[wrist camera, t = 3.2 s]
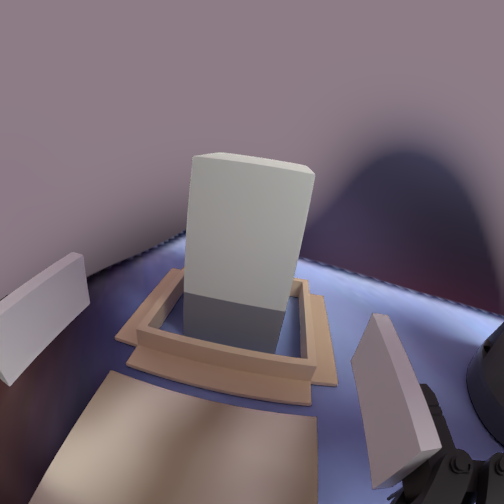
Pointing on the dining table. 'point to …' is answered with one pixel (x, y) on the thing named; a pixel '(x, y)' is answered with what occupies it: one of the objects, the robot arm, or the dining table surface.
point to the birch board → (180, 452)
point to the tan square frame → (231, 351)
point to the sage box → (242, 247)
